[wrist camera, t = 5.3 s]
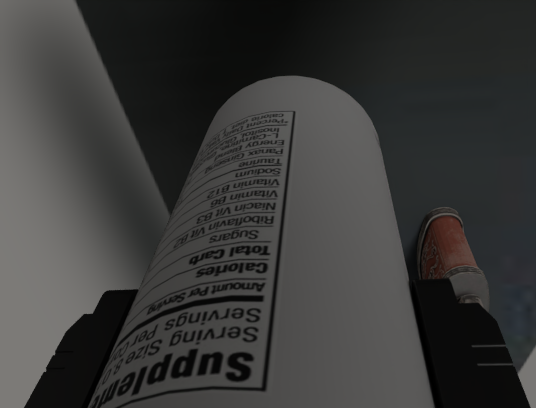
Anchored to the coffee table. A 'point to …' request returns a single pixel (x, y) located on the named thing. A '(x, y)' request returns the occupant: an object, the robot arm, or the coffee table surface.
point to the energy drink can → (276, 270)
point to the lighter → (450, 257)
